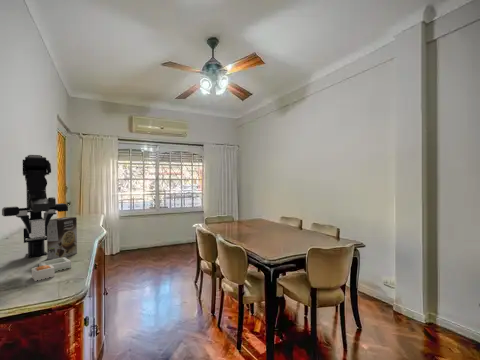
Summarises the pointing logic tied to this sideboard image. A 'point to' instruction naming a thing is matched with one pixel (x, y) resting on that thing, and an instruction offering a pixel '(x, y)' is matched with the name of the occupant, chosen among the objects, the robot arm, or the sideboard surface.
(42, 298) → the sideboard surface
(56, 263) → the white square tray
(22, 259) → the sideboard surface
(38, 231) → the billet
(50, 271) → the button housing
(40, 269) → the button
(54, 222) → the coffee box
